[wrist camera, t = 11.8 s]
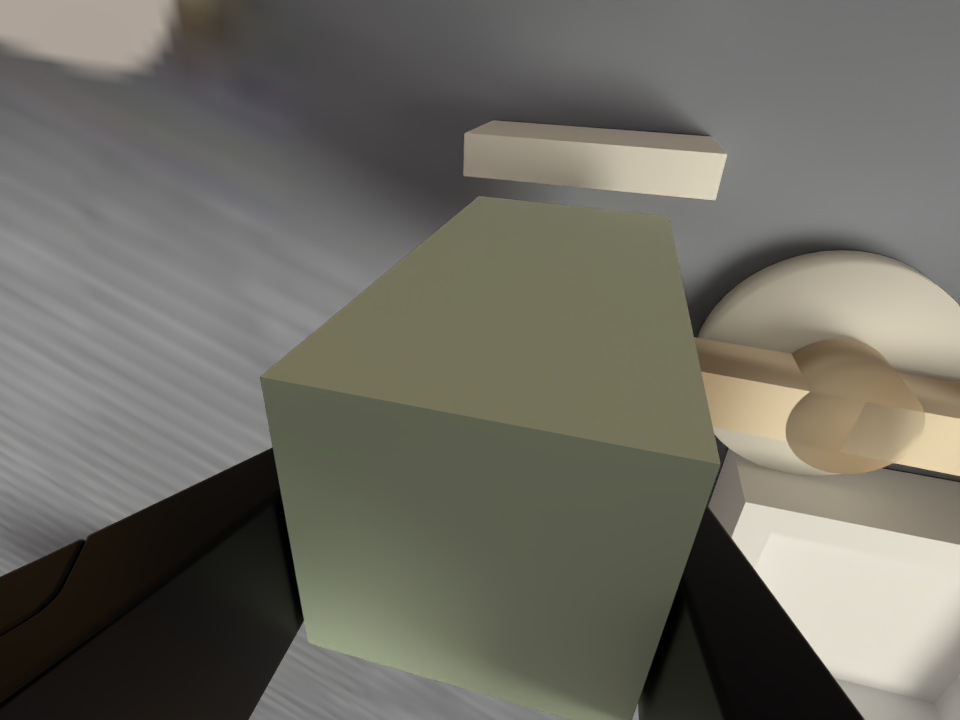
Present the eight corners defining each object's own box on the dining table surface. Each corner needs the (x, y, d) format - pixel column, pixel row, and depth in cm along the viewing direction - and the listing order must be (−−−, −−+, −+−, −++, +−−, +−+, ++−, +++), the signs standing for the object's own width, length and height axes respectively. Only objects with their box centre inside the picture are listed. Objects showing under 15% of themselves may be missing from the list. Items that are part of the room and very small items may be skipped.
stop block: (668, 216, 11) (719, 464, 4) (632, 382, 13) (625, 735, 6) (478, 195, 12) (260, 376, 5) (471, 355, 14) (307, 642, 7)
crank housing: (1066, 163, 13) (1173, 189, 10) (892, 470, 18) (935, 540, 15) (493, 120, 15) (464, 133, 13) (479, 395, 20) (456, 444, 18)
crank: (513, 370, 18) (457, 513, 12) (523, 286, 16) (464, 405, 11) (1335, 530, 14) (1796, 847, 8) (1452, 438, 12) (2116, 752, 7)
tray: (1112, 509, 16) (1199, 592, 14) (941, 703, 22) (981, 788, 19) (731, 440, 19) (745, 502, 16) (663, 633, 24) (666, 701, 22)
